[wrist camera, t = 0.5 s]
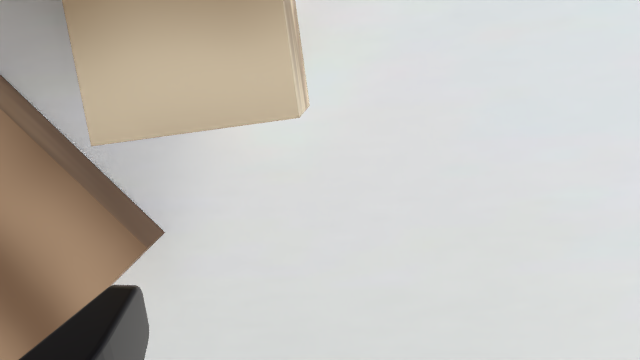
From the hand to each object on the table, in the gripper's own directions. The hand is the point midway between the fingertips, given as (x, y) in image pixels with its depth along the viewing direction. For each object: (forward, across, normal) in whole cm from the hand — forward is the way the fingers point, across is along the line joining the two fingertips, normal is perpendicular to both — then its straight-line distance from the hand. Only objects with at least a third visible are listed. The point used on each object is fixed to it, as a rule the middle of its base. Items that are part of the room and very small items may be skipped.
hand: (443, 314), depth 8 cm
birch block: (+17, +5, +2) cm, 18 cm away
